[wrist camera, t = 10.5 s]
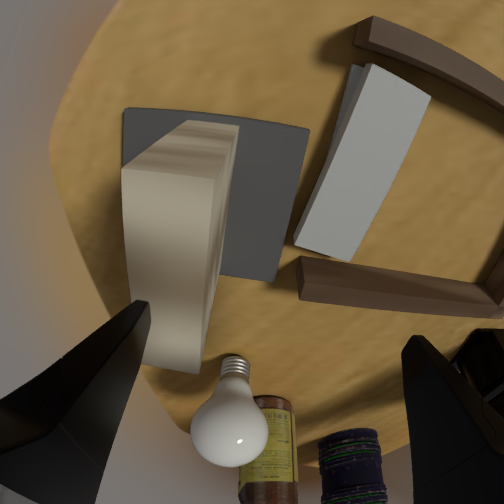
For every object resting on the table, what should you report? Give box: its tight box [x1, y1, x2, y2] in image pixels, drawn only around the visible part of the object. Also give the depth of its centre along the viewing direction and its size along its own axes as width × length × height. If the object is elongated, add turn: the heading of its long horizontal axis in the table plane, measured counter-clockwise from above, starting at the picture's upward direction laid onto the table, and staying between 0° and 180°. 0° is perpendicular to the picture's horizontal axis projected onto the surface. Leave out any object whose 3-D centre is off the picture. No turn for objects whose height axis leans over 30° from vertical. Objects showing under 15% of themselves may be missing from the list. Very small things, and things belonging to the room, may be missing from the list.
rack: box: [296, 15, 504, 319], centre depth 17 cm, size 18×20×3 cm
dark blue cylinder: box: [318, 428, 388, 504], centre depth 34 cm, size 10×10×15 cm
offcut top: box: [293, 63, 431, 262], centre depth 17 cm, size 12×4×1 cm, turn 162°
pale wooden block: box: [121, 120, 239, 375], centre depth 15 cm, size 10×3×9 cm, turn 171°
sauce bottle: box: [238, 396, 298, 504], centre depth 26 cm, size 7×6×20 cm
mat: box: [123, 107, 310, 283], centre depth 19 cm, size 11×11×1 cm
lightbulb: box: [190, 356, 269, 467], centre depth 24 cm, size 6×6×11 cm
